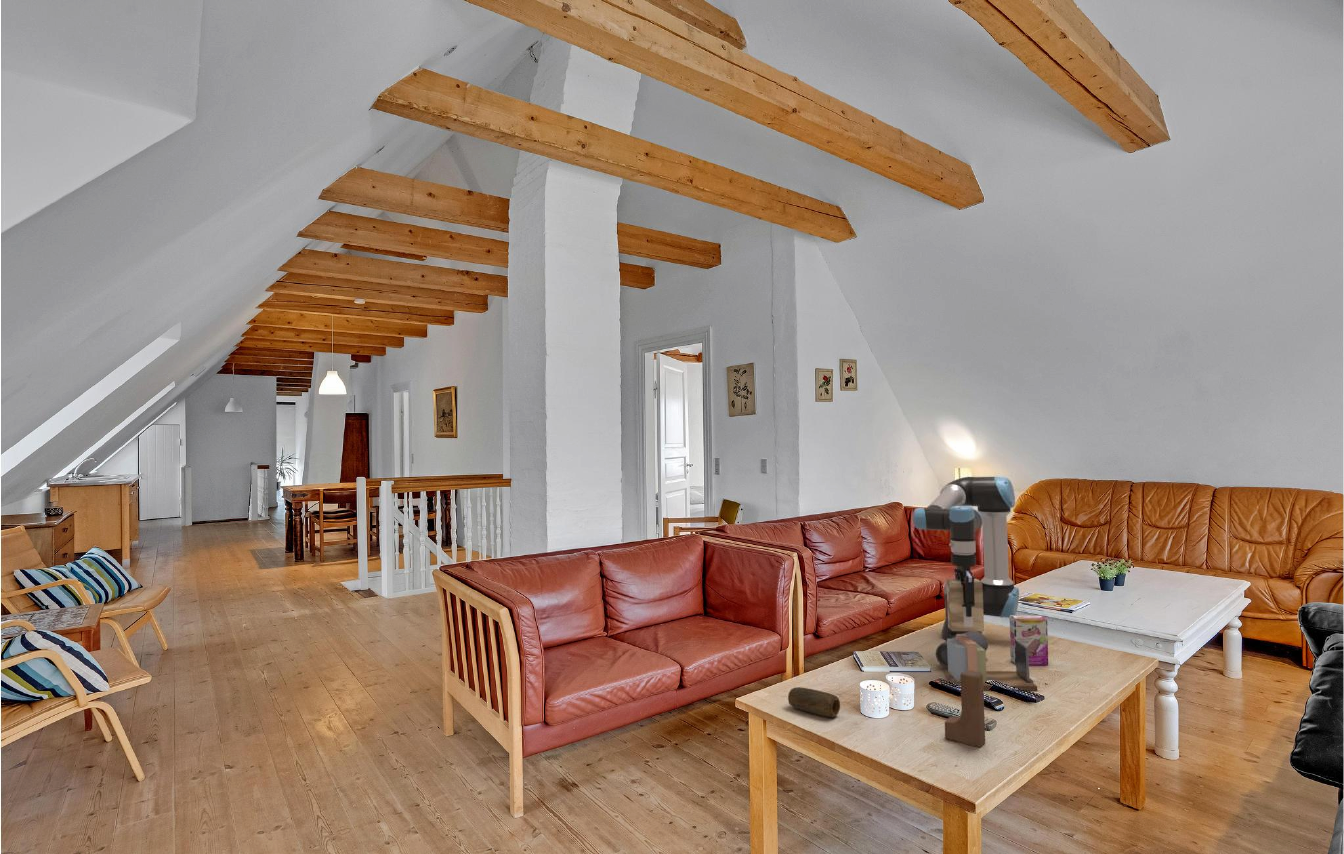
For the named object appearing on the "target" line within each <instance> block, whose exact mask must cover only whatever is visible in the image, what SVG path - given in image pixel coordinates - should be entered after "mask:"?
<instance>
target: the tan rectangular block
mask: <svg viewBox="0 0 1344 854" xmlns="http://www.w3.org/2000/svg"><path fill="white" fill-rule="evenodd" d="M946 582H947V608H948V628H949V629H950V630H951V631H981V632H985V620H984V616H985V615H983V589H982V582H981V580H979V579H977V578H974V599H975V606H973V607H972V610H973V627H964V619H963V607H962V605H964V599H963V585H961V581H960V579H959V580H958V579H955V578H948V579H946ZM946 582H945V583H946ZM963 583H965V582H963Z"/></svg>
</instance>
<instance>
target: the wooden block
mask: <svg viewBox="0 0 1344 854" xmlns="http://www.w3.org/2000/svg"><path fill="white" fill-rule="evenodd" d="M960 678H961V690H960V697H961V698H960V699H961V702H960V704H961V706H960V707H961V713H960V716H959V717H957V716H949V717H948V718H947V719H946V720H945V721H944V738H945V739H946V740H950V741H953V742H957V743H961V744H965V745H968V746H969V745H970V746H972V747H976V748H977V747H978V748H982V746H983V745H984V744H985V742H986V728H985V727H986V722H985V702H984V700H985V699H984V690H983V674H982V673H981V672H975V671H970V670H965V671H964V672H962V673H961V675H960Z"/></svg>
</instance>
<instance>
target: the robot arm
mask: <svg viewBox="0 0 1344 854" xmlns="http://www.w3.org/2000/svg"><path fill="white" fill-rule="evenodd" d="M1015 496H1016V495H1015V490H1014V486H1013V483H1012V482H1011V480H1010V479H1009V478H1008V477H1004V476H1002V477H1001V476H965V477H964V476H963V477H960V478H957V479H954V480H952V481H950V482H948V483H947V484H945V485H944V486H943V487H942V488H941V490H940V493H939V495H938V496H937V497H936V498H935V499H934V500H932V502H931V503H930V504H929V505H927V507H918V508H915V509H914V511H913V514H912V523H913V525H914V528H916V529H917V530H925V531H927V530H928V531H946V532H947V531H950V532H949V533H950V534H949V535H950V536H949V537H950V543H949V544H948V545H949V547H950V550H951V551H950V552H952V553H950V554H951V555H950V557H951V558H950V559H951V561H950V563H951V565H953V566H956V568H954V570H953V571H954V579H958V580H959V579H960V581H961V585H963V599H964V605H962V607H963V619H964V627H973V610H972V607H973V606H975V599H974V579H975V576H974V575H973V572H972V570H971V567H975V566H976V565H977V555H976V554H975V553H977V550H976V549H977V548H976V531H978V530H979V529H980V528H981V527H982V541H983V544H982V545H983V546H982V547H983V561H984V562H983V566H984V567H983V569H984V577H983V578H981V580H980V581H981V582H982V589H983V615H984V616H990V617H999V618H1009V619H1010V615H1016V613H1017V611H1018V607H1019V600H1020V589H1019V588H1018V587H1017V586H1015V582H1014V581H1013V580H1012V579H1011V578H1010V570H1009V569H1010V568H1009V547H1008V546H1009V544H1008V543H1009V541H1008V525H1007V524H1008V522H1007V520H1008V519H1007V517H1008V515H1009V514H1010V513H1011V510H1012V508H1014V507H1015V506H1016V497H1015ZM974 507H976V508H977V509H975V508H974ZM963 582H965V583H963ZM943 594H944V610H945V618H944V622H943V624H942V625H943V626H942V629H941V633H940V634H941V638H942V639H943V640H945V641H947V639H951V638H953V637H955V636H956V634H963V633H966V632H970V631H951V630H950V629H949V628H948V608H947V582H945V584H944V591H943ZM977 632H980V633H982V632H983V631H977ZM982 634H983V633H982Z"/></svg>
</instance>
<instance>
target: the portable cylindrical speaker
mask: <svg viewBox="0 0 1344 854" xmlns="http://www.w3.org/2000/svg"><path fill="white" fill-rule="evenodd" d="M787 700H788V704H789V705H790V706H792V707H794V708H795V709H797V708H798V710H800V709H801V710H800V711H803V712H806V711H808V712H807V713H811V714H814V715H817V714H818V715H817V716H821V715H822V716H821V717H828V718H835V717H837V716H838V714H839V713H840V710H841V701H840V699H839V697H838V696H837V695H834V694H832V693H829V692H826V691H821V690H817V689H813V688H806V687H793V688H791V689H790V690H789V692H788V696H787Z"/></svg>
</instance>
